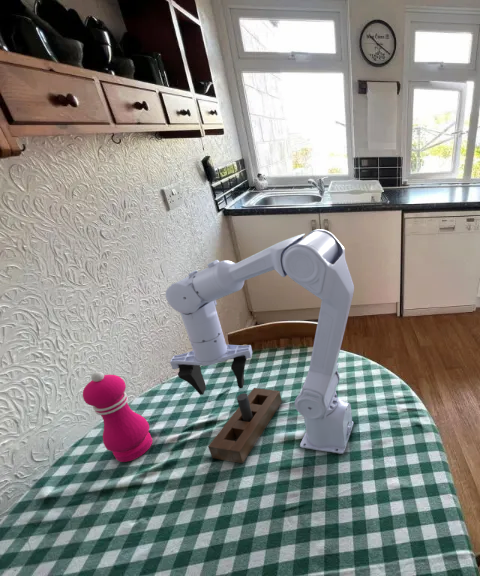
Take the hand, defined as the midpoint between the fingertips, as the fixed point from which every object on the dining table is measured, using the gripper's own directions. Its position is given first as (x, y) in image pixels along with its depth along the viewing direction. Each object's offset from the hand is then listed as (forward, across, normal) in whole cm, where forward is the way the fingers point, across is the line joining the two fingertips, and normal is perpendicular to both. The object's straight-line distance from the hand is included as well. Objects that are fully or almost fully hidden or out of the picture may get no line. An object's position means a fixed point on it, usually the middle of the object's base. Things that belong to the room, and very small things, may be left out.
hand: (222, 388), depth 66 cm
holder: (+10, -4, +2) cm, 11 cm away
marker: (+10, -4, +2) cm, 11 cm away
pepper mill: (+10, +19, +2) cm, 22 cm away
